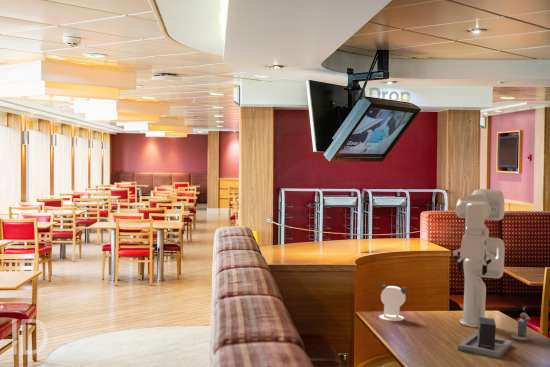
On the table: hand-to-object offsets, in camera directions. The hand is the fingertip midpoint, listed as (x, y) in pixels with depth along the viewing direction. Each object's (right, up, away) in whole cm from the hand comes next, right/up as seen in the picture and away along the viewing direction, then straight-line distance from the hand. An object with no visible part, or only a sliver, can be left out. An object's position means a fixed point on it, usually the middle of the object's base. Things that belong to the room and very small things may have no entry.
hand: (472, 273), depth 277 cm
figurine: (+22, -29, +4) cm, 37 cm away
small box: (+3, -28, -10) cm, 30 cm away
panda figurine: (-28, -26, +34) cm, 51 cm away
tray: (+2, -29, -10) cm, 31 cm away
